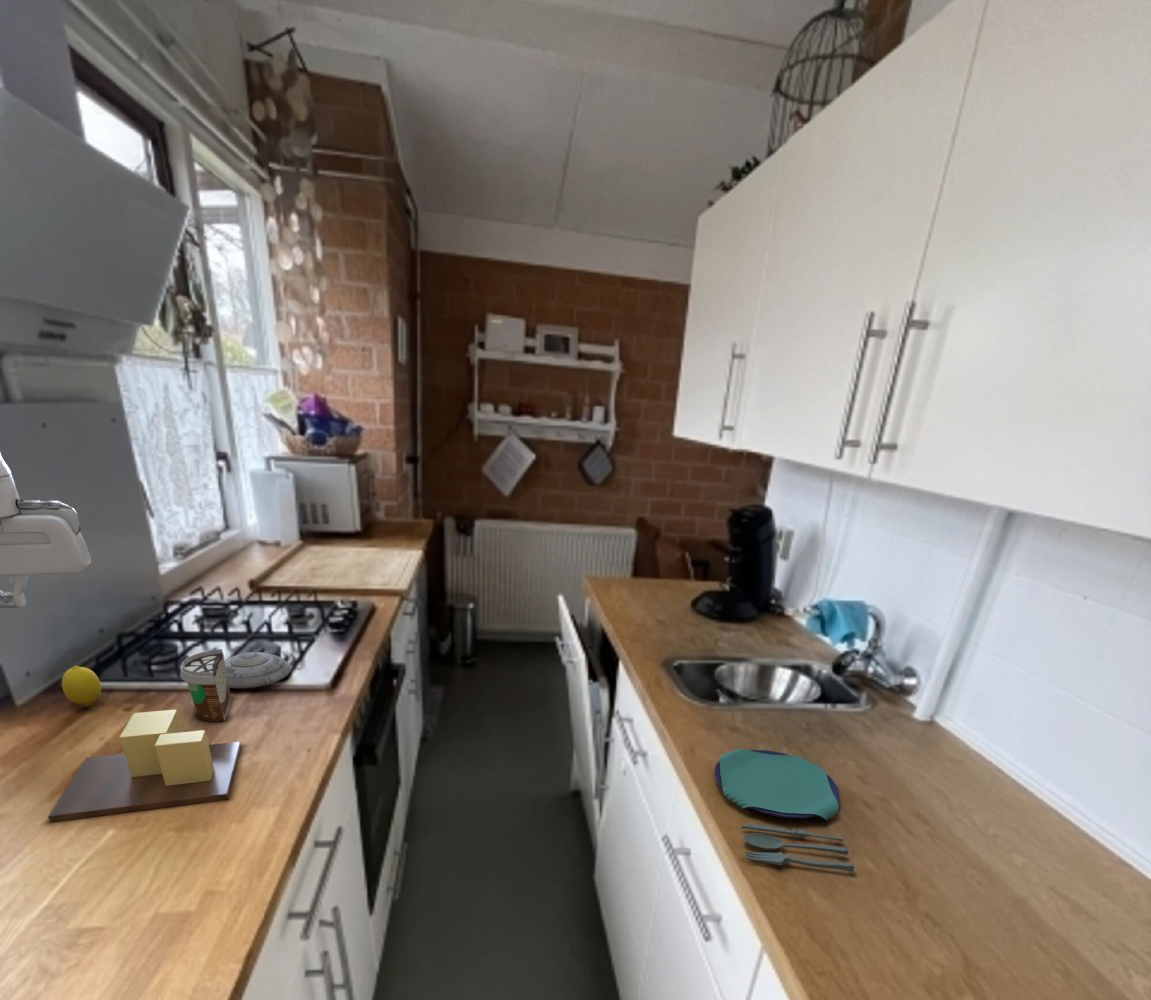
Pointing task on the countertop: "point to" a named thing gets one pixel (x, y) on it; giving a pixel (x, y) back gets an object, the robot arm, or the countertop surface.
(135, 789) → the butter board
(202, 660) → the food container
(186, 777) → the butter slice
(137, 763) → the butter block
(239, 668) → the flying saucer
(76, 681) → the lemon
